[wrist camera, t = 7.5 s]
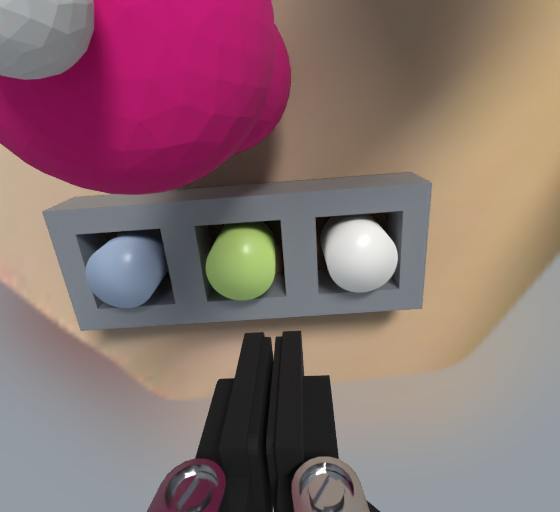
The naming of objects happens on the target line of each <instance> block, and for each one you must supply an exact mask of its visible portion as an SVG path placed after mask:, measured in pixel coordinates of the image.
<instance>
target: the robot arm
mask: <svg viewBox="0 0 560 512" xmlns="http://www.w3.org/2000/svg"><path fill="white" fill-rule="evenodd" d="M273 508H274V512H380V511H379V510H378V509H376V508H375V507H374V506H373V505H372V504H370V503H369V502H368V501H367V500H366V498H365V495H364V492H363V489H362V486H361V483H360V481H359V478H358V476H357V474H356V472H355V471H354V470H353V469H352V468H351V467H350V466H349V465H348V464H346V463H344V462H343V461H341V460H340V459H339V457H338V449H337V439H336V430H335V421H334V412H333V403H332V394H331V385H330V377H329V375H326V376H304V367H303V352H302V337H301V331H284V332H283V335H282V337H276V340H275V351H274V361H273V352H272V342H271V337H264V333H263V332H260V333H245V335H244V339H243V343H242V348H241V352H240V357H239V361H238V366H237V370H236V374H235V378H231V379H219V380H218V382H217V384H216V388H215V391H214V395H213V398H212V402H211V405H210V409H209V412H208V416H207V419H206V423H205V426H204V430H203V433H202V437H201V440H200V444H199V448H198V451H197V454H196V458H195V459H192V460H189V461H185V462H183V463H182V464H180V465H178V466H177V467H175V468H174V469H173V470H172V471H171V472H170V473H169V474H167V476H166V477H165V479H164V480H163V482H162V483H161V485H160V487H159V489H158V491H157V493H156V495H155V497H154V499H153V501H152V503H151V505H150V507H149V509H148V511H147V512H273Z"/></svg>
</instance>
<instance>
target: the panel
mask: <svg viewBox="0 0 560 512" xmlns="http://www.w3.org/2000/svg"><path fill="white" fill-rule="evenodd" d="M431 187H432V182H430V181H428V180H426V179H424V178H422V177H420V176H418V175H416V174H414V173H412V172H405V173H392V174H378V175H365V176H352V177H338V178H325V179H312V180H298V181H285V182H272V183H258V184H245V185H232V186H219V187H205V188H192V189H179V190H169V191H166V192H161V193H152V194H142V195H125V194H112V195H99V196H85V197H73V198H71V199H69V200H67V201H65V202H62V203H60V204H58V205H56V206H53V207H51V208H49V209H47V210H45V211H42V213H43V216H44V219H45V222H46V225H47V228H48V231H49V234H50V237H51V240H52V243H53V246H54V250H55V253H56V256H57V259H58V262H59V265H60V268H61V271H62V274H63V277H64V280H65V283H66V287H67V290H68V293H69V296H70V299H71V302H72V305H73V308H74V311H75V314H76V317H77V321H78V324H79V327H80V330H81V331H85V330H101V329H116V328H132V327H147V326H162V325H178V324H193V323H209V322H224V321H240V320H255V319H271V318H286V317H301V316H317V315H332V314H348V313H363V312H379V311H394V310H410V309H422V303H423V290H424V277H425V264H426V251H427V239H428V226H429V213H430V200H431ZM381 212H386V234H387V235H388V236H389V237H390V238H391V240H392V241H393V242H394V244H395V246H396V249H397V254H398V261H397V266H396V269H395V271H394V273H393V275H392V276H391V278H390V279H389V280H388V281H387V282H386V283H385V284H384V285H382V286H381V287H379V288H377V289H375V290H372V291H369V292H362V293H357V292H351V291H348V290H345V289H343V288H341V287H340V286H338V285H337V284H336V283H335V282H334V281H333V279H332V278H331V276H330V274H329V271H328V270H325V271H318V270H317V246H316V221H315V217H326V216H340V215H354V214H367V213H381ZM271 220H281V232H282V245H283V258H284V271H285V273H281V274H275V276H274V280H273V282H272V284H271V286H270V287H269V288H268V290H267V291H266V292H265V293H263V294H262V295H260V296H258V297H256V298H254V299H250V300H233V299H230V298H227V297H225V296H223V295H221V294H220V293H218V292H217V291H216V290H215V289H214V288H213V287H212V285H211V284H210V282H209V280H208V278H207V275H206V260H207V257H208V255H209V253H210V251H211V243H210V236H209V230H208V225H215V224H229V223H243V222H257V221H271ZM146 229H160V230H161V235H162V240H163V245H164V250H165V255H166V260H167V265H168V269H169V274H170V279H171V281H164V282H160V283H159V285H158V286H157V288H156V289H155V291H154V292H153V294H152V295H151V297H150V298H149V299H148V300H147V301H146V302H145V303H143V304H142V305H139V306H137V307H133V308H118V307H114V306H111V305H109V304H107V303H105V302H103V301H102V300H100V299H99V298H98V297H97V296H96V295H95V294H94V293H93V292H92V290H91V289H90V287H89V285H88V283H87V280H86V274H85V271H86V265H87V262H88V260H89V258H90V257H91V256H92V255H93V254H94V253H95V252H96V251H97V250H99V249H100V248H101V247H102V246H104V245H105V244H106V243H107V242H108V239H107V235H106V232H118V231H132V230H146Z"/></svg>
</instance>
